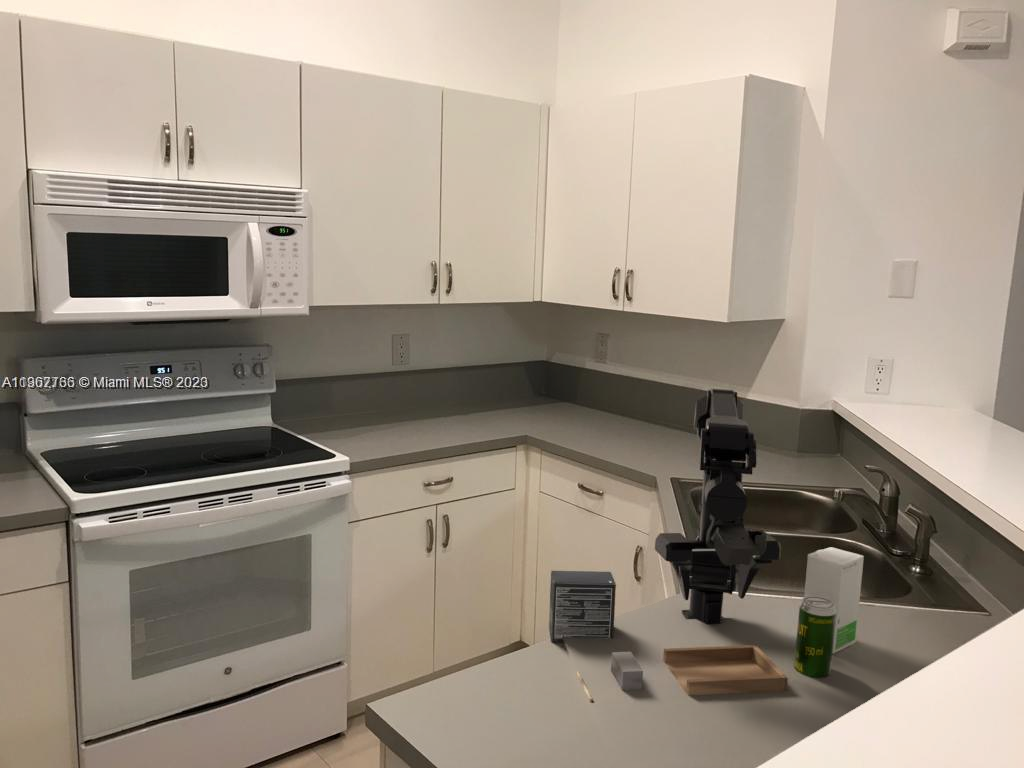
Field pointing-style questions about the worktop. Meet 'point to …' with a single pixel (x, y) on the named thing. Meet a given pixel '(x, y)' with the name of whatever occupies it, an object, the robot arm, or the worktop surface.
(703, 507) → the robot arm
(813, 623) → the beer can
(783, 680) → the walnut tray
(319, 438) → the worktop surface
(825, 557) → the skincare box
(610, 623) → the small box
